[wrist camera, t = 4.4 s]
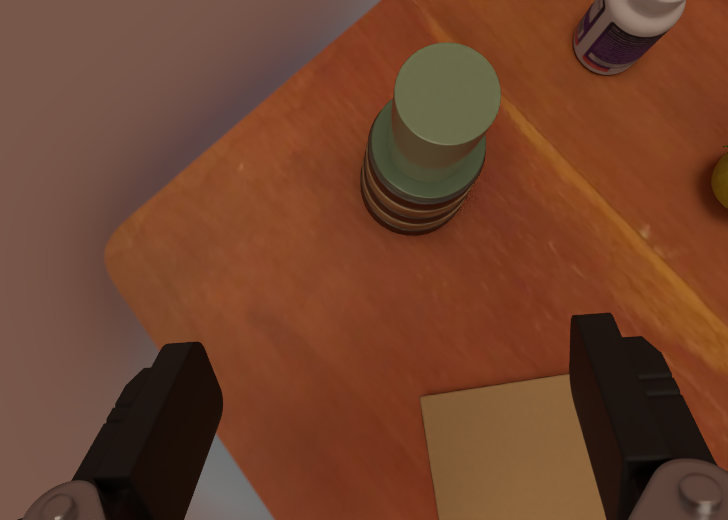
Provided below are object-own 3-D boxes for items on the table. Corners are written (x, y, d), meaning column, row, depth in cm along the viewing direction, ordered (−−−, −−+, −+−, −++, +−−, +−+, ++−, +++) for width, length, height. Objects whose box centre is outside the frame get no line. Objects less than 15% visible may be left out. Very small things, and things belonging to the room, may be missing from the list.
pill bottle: (651, 59, 48) (725, -8, 38) (591, 87, 47) (651, 26, 38) (618, 1, 48) (684, -81, 38) (559, 28, 48) (610, -47, 38)
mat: (445, 563, 44) (446, 565, 43) (419, 396, 45) (419, 397, 44) (607, 537, 44) (609, 538, 43) (577, 372, 45) (579, 372, 45)
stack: (368, 242, 46) (371, 220, 36) (353, 141, 47) (352, 92, 37) (471, 227, 46) (502, 200, 36) (454, 127, 47) (480, 74, 37)
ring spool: (380, 209, 36) (387, 174, 28) (363, 100, 37) (365, 34, 28) (491, 192, 36) (532, 153, 28) (472, 85, 37) (506, 14, 28)
